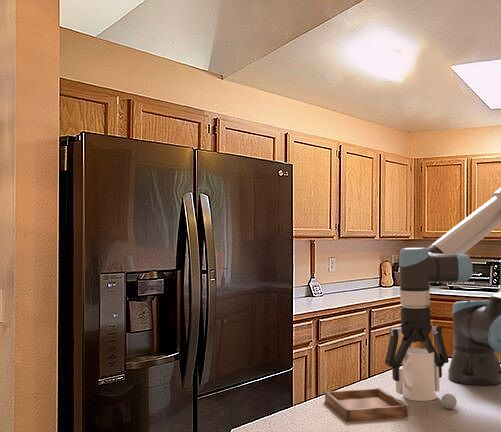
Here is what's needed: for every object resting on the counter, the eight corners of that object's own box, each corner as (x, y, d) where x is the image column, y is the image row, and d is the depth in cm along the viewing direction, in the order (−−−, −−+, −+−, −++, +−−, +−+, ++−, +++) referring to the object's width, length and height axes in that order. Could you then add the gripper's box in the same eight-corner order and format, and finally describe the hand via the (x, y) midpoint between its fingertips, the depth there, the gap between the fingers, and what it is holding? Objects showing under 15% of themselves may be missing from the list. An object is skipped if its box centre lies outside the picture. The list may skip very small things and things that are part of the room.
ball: (452, 406, 152) (451, 391, 152) (459, 410, 148) (459, 395, 148) (438, 407, 151) (438, 392, 151) (446, 411, 147) (445, 396, 147)
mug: (415, 405, 153) (413, 357, 153) (388, 398, 159) (386, 352, 160) (442, 397, 160) (441, 351, 160) (415, 390, 167) (414, 346, 167)
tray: (379, 397, 160) (379, 388, 160) (407, 416, 144) (407, 405, 144) (325, 401, 158) (324, 392, 158) (347, 421, 141) (347, 410, 141)
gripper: (446, 302, 166) (449, 385, 166) (370, 306, 162) (372, 391, 162) (461, 306, 159) (464, 392, 158) (381, 310, 155) (383, 398, 154)
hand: (417, 391), depth 160 cm, fingers closed on mug, 9 cm apart
